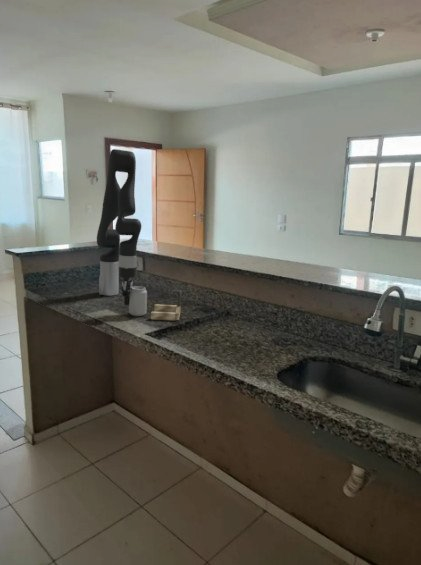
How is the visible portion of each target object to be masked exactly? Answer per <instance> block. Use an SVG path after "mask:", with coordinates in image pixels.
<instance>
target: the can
mask: <svg viewBox="0 0 421 565" xmlns="http://www.w3.org/2000/svg"><path fill="white" fill-rule="evenodd" d="M147 302H148V291H147V289H146V287H145V286H140V285H138V286H137V285H135V286H134V285H133V286H132V287H131V291H130V297H129V305H128V312H129V314H130V315H131V316H134V317H141V316H142V317H143V316H145V314H147V307H148V306H147V305H148V303H147Z"/></svg>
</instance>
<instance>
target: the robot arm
mask: <svg viewBox="0 0 421 565" xmlns="http://www.w3.org/2000/svg"><path fill="white" fill-rule="evenodd" d="M108 157H109V158H108V163H107V164H108V166H107V176H106V177H107V178H106V185H105V190H104V195H103V196H104V197H103V200H102V202H103V203H102V209H101V217H100V222H99V226H98V229H97V234H96V244H97V246H98V247H99V248H102V249H105V248H107V249H108V248H110V250H108V251H107V252H104V253H103V254H101V255H100V257H99V261H100V262H99V267H100V270H99V277H98V294H99V295H103V296H106V297H107V296H109V297H110V296H117V295H118V294H119V293H120V292H119V291H120V289H119V288H120V286H119V285H120V284H119V282H120V280H119V278H123V280H122V281H121V285H122V286H121V293H122V297H124V300H123V303H124V304H123V306H129V297H130V291H131V287H133V286H134V285H133V284H134V281H133V278H136V277H137V273H138V272H137V269H138V268H137V267H138V266H137V265H138V260H137V248H138V247H137V246H138V240H139V237H140V234H141V231H142V223H141V220H140V219H138V218H129V217H130V216H133V215H135V213H136V198H135V197H136V196H135V187H136V186H135V185H136V169H137V168H136V167H137V163H136V162H137V161H136V155H135V152H132V151H129V150H123V149H117V148H116V149H115V148H113V149H111V151H110V153H109V156H108ZM117 172H118V173H127V178H126V180H125V182H124V183H123V185H122V186H121V187H120V184H119V182H118V180H117V175H116V174H117ZM126 217H128V218H126ZM115 220H116V222H115V225H114V226H115V227H114V228H110V229H109V227H110V225H111V224H112V223H113V221H115ZM121 236H131V237H130V238H129V239H127V240H122V241H121Z"/></svg>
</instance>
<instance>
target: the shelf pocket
mask: <svg viewBox="0 0 421 565" xmlns="http://www.w3.org/2000/svg"><path fill="white" fill-rule="evenodd" d="M172 293H173V294H177V303H176V304H177V305H176V304H174V305H173V304H157V303H155V304H154V305H153V306H154V310H153V311H151V312H150V319H151V320H154V321H155V320H161V321H177V320H180V316H181V310H182V290H181V289H180V290H178V289H177V290H175V289H174V290H173V289H172ZM177 322H178V321H177Z"/></svg>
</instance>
